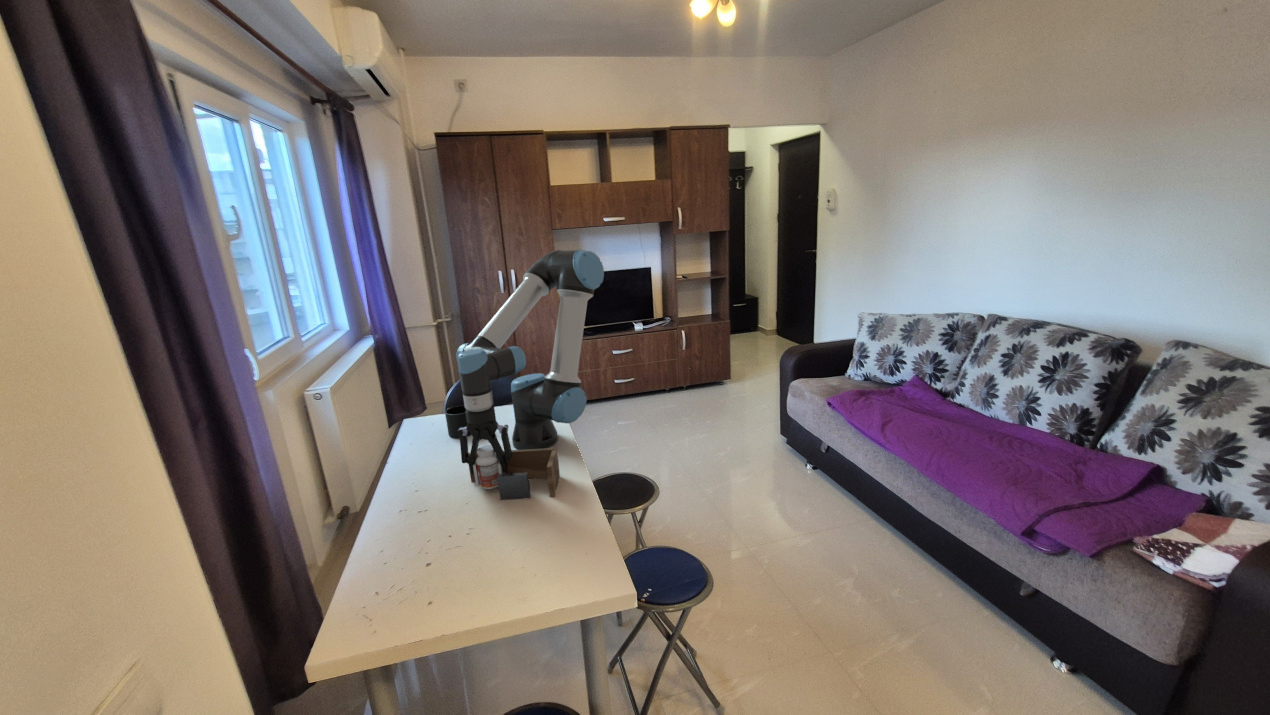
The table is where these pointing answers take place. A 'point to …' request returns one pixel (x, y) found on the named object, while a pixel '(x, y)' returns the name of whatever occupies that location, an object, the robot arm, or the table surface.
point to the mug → (456, 420)
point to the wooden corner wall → (534, 465)
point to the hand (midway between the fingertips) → (491, 483)
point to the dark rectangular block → (514, 486)
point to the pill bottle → (487, 467)
